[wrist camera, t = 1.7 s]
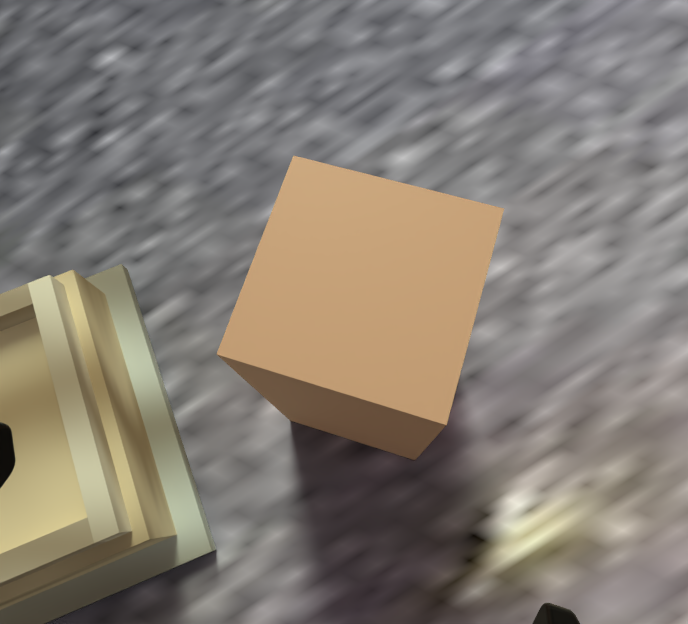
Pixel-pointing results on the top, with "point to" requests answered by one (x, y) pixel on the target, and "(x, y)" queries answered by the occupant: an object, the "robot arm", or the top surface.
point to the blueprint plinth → (87, 450)
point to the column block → (362, 304)
